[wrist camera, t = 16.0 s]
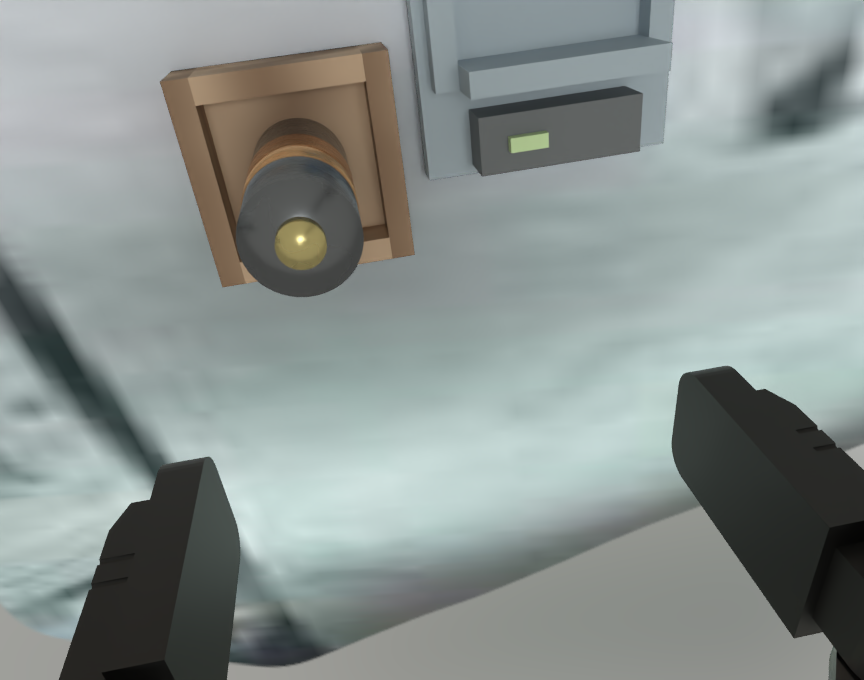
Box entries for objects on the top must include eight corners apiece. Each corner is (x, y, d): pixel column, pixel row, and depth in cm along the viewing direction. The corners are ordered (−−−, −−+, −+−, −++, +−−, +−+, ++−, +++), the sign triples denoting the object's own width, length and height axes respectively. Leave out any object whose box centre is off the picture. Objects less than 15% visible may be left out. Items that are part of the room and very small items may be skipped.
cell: (339, 109, 27) (355, 172, 20) (355, 203, 30) (375, 293, 22) (240, 124, 27) (216, 194, 19) (264, 218, 29) (251, 315, 21)
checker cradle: (675, -181, 25) (734, -202, 22) (653, 138, 31) (696, 160, 28) (389, -149, 24) (404, -165, 21) (426, 174, 30) (442, 202, 27)
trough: (380, 42, 27) (387, 49, 25) (406, 234, 32) (414, 254, 29) (171, 71, 26) (160, 81, 24) (227, 264, 31) (222, 287, 29)
